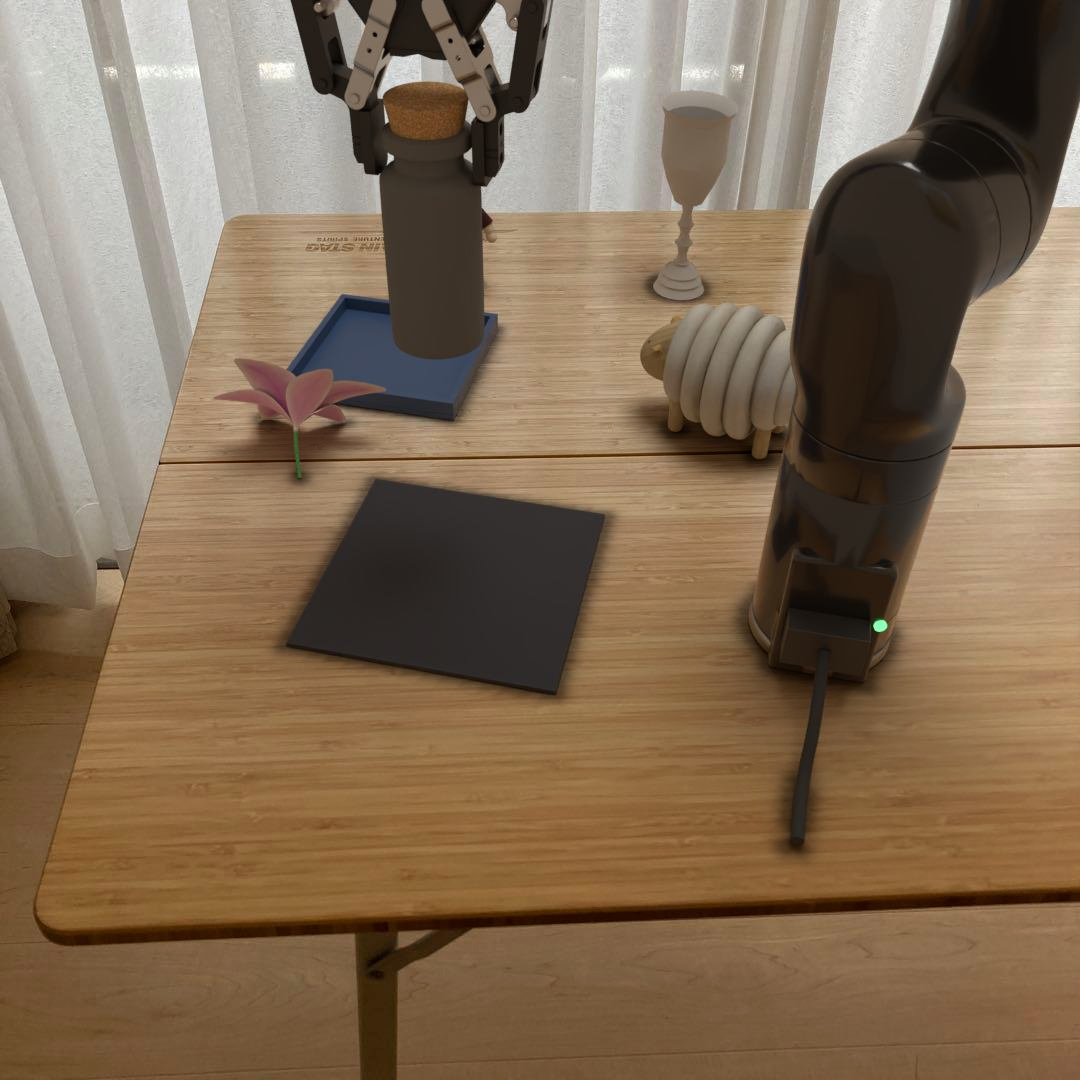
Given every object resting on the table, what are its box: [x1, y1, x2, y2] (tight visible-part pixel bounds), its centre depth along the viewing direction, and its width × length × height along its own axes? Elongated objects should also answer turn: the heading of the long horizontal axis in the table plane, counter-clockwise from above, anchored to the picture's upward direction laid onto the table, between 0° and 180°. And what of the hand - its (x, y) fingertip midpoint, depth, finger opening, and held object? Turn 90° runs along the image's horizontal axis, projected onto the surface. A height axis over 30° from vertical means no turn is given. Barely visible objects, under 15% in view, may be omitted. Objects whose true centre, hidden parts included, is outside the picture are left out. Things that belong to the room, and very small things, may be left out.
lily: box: [212, 357, 387, 479], centre depth 86 cm, size 12×12×10 cm
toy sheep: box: [639, 302, 796, 460], centre depth 88 cm, size 11×17×11 cm, turn 65°
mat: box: [285, 478, 606, 695], centre depth 78 cm, size 18×18×1 cm
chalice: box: [652, 90, 739, 301], centre depth 105 cm, size 7×7×18 cm
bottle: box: [378, 80, 485, 360], centre depth 65 cm, size 6×6×15 cm
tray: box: [285, 293, 499, 421], centre depth 99 cm, size 15×15×2 cm
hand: (430, 174), depth 63 cm, fingers closed on bottle, 5 cm apart
